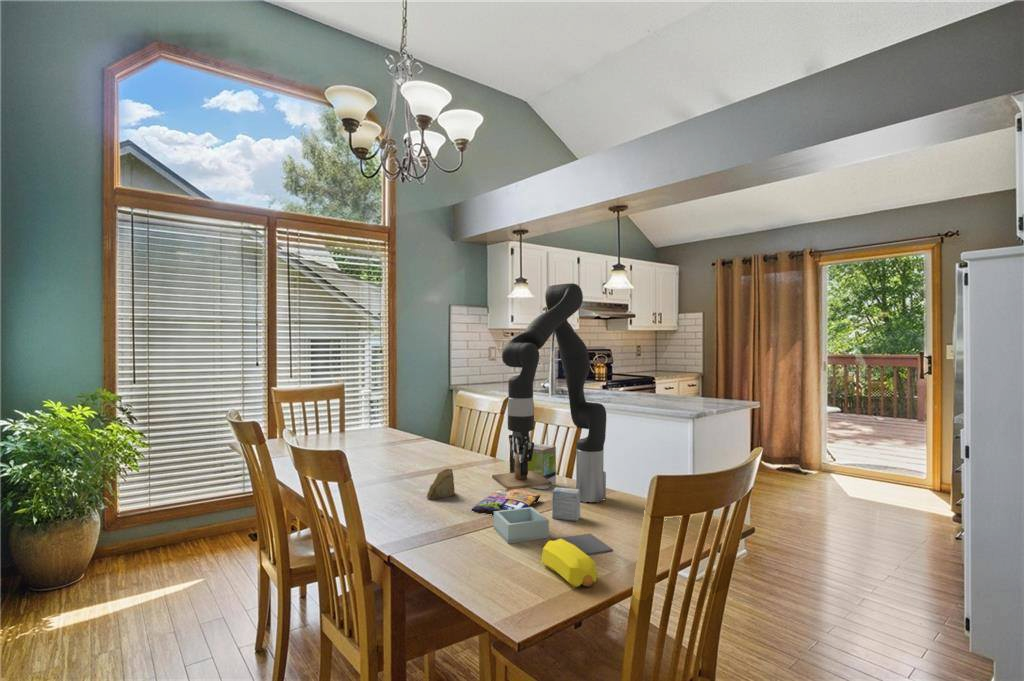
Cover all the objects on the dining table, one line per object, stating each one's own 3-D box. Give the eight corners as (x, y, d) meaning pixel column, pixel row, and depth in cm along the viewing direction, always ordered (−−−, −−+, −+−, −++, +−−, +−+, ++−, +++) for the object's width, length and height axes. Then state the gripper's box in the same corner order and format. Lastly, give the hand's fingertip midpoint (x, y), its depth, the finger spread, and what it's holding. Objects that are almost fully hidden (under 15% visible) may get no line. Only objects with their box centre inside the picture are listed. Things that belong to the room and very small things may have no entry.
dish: (531, 523, 160) (531, 506, 160) (548, 537, 149) (548, 519, 148) (493, 528, 155) (493, 511, 155) (508, 543, 144) (508, 525, 144)
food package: (549, 503, 182) (549, 490, 182) (517, 526, 160) (517, 512, 160) (493, 494, 192) (493, 482, 192) (455, 515, 169) (455, 501, 169)
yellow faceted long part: (561, 557, 136) (535, 563, 133) (561, 531, 136) (535, 536, 133) (604, 587, 120) (575, 594, 117) (604, 557, 120) (575, 564, 116)
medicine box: (580, 517, 166) (580, 489, 166) (577, 521, 162) (577, 493, 162) (555, 514, 168) (555, 486, 168) (552, 518, 164) (552, 490, 164)
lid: (533, 473, 160) (533, 447, 160) (551, 484, 148) (551, 456, 148) (492, 477, 156) (491, 451, 155) (507, 490, 143) (507, 461, 143)
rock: (425, 495, 179) (455, 490, 181) (423, 472, 184) (452, 467, 186) (428, 506, 188) (456, 501, 189) (426, 483, 193) (453, 479, 194)
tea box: (556, 484, 202) (556, 445, 202) (543, 490, 194) (543, 449, 194) (522, 478, 211) (522, 440, 210) (508, 484, 202) (508, 445, 202)
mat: (590, 534, 151) (590, 533, 151) (612, 550, 140) (612, 549, 140) (551, 540, 147) (551, 538, 147) (571, 557, 135) (571, 555, 135)
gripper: (543, 416, 146) (543, 478, 147) (523, 409, 159) (523, 466, 160) (517, 417, 144) (518, 481, 144) (499, 410, 157) (500, 469, 157)
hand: (521, 473), depth 152 cm, fingers closed on lid, 3 cm apart
